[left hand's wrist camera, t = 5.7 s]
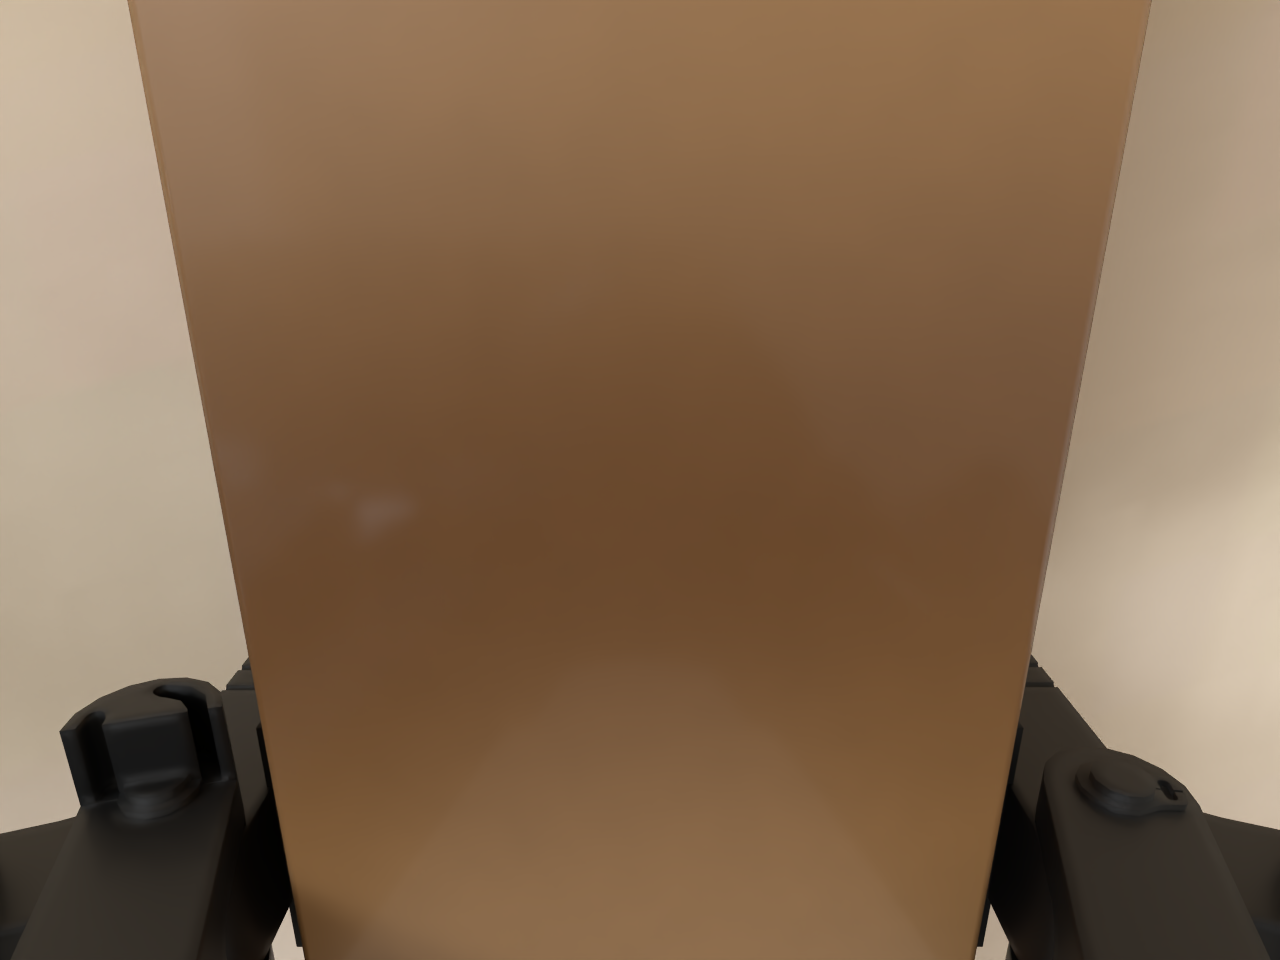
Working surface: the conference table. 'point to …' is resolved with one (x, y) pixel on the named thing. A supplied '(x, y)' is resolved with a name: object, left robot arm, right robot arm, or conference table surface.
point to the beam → (639, 446)
